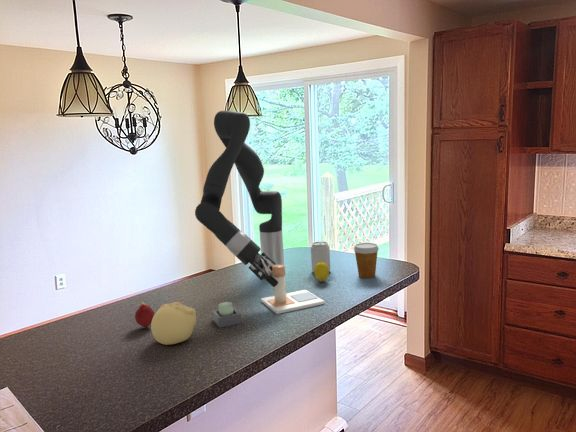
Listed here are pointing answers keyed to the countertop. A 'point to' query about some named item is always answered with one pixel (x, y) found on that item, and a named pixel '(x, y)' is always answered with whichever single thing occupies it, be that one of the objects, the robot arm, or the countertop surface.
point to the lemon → (321, 271)
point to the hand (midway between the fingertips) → (279, 281)
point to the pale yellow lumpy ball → (173, 323)
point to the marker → (279, 283)
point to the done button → (225, 309)
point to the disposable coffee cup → (366, 259)
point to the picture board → (293, 301)
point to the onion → (144, 315)
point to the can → (320, 254)
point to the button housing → (227, 318)
